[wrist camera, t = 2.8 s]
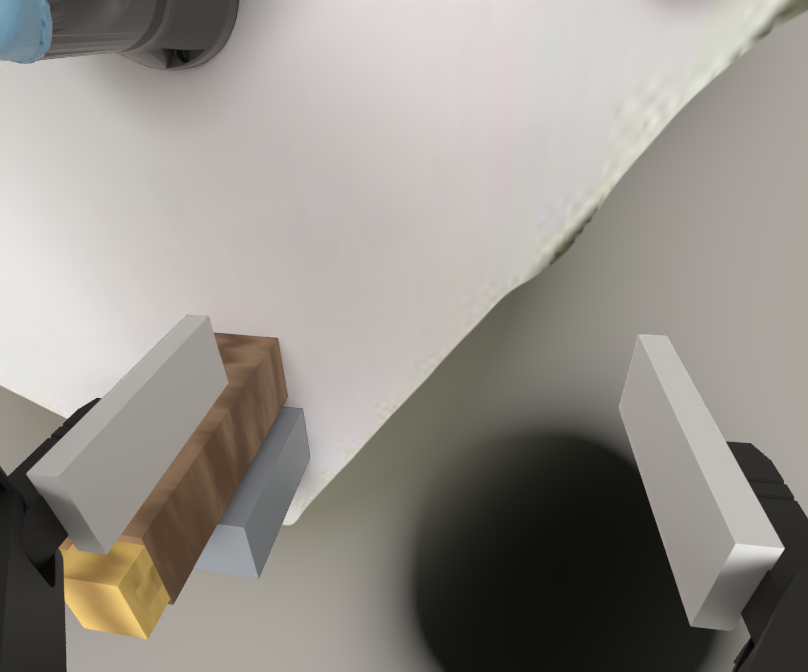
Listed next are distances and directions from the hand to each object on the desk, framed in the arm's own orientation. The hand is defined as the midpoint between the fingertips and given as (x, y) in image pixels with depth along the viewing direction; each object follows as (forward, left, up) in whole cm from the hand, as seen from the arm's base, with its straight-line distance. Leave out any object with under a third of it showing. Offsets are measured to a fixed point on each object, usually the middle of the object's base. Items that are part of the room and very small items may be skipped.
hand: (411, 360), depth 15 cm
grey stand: (-7, -51, -38) cm, 64 cm away
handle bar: (-19, -43, -8) cm, 48 cm away
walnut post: (-13, -41, -38) cm, 57 cm away
